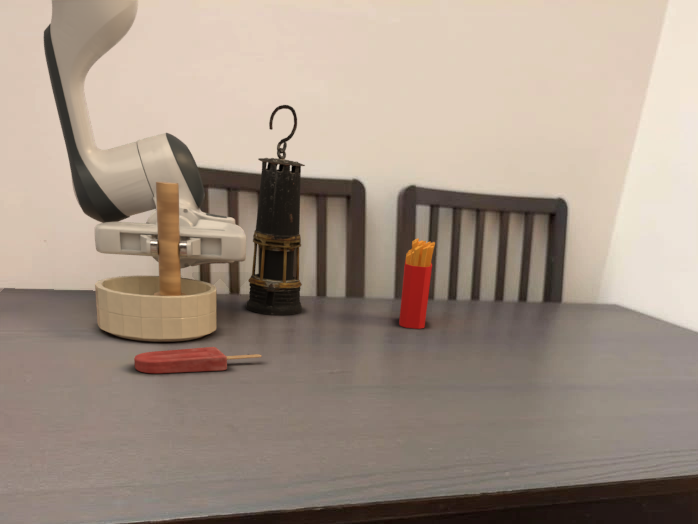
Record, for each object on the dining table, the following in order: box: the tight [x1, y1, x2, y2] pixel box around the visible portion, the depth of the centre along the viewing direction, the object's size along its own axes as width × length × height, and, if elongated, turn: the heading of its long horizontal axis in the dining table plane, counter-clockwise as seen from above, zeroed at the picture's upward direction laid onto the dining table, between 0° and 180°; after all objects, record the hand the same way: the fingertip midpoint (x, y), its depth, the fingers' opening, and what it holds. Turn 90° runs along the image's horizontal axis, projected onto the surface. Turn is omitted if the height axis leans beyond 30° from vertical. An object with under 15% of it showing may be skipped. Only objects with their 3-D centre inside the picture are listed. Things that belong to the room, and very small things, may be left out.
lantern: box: [245, 104, 306, 316], centre depth 113 cm, size 9×9×30 cm
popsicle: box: [133, 346, 263, 375], centre depth 85 cm, size 4×2×15 cm
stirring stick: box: [154, 182, 187, 296], centre depth 96 cm, size 4×4×17 cm
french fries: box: [398, 237, 436, 330], centre depth 115 cm, size 9×4×13 cm, turn 177°
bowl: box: [94, 274, 218, 343], centre depth 99 cm, size 16×16×6 cm
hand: (168, 248), depth 95 cm, fingers closed on stirring stick, 3 cm apart
